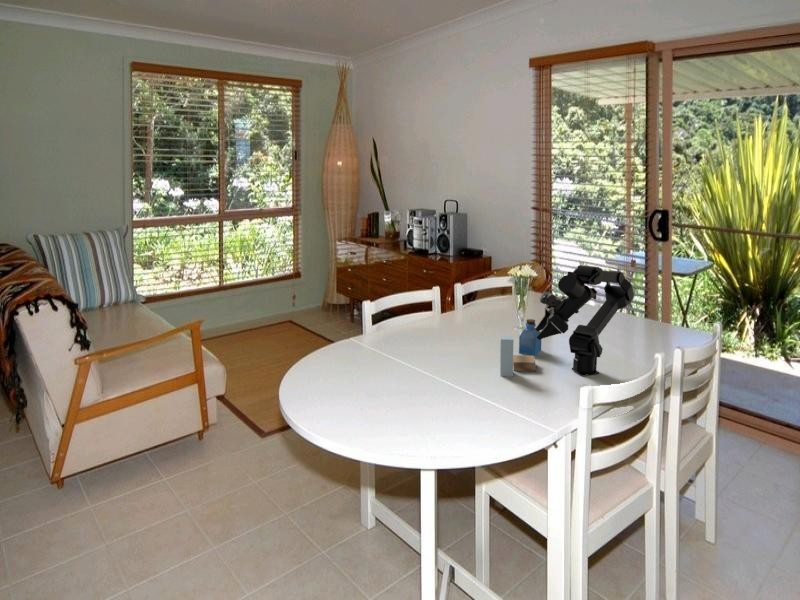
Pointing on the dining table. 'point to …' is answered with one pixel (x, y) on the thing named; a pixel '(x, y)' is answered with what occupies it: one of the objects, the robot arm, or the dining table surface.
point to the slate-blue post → (506, 356)
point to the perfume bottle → (529, 339)
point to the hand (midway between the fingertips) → (536, 334)
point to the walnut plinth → (523, 363)
